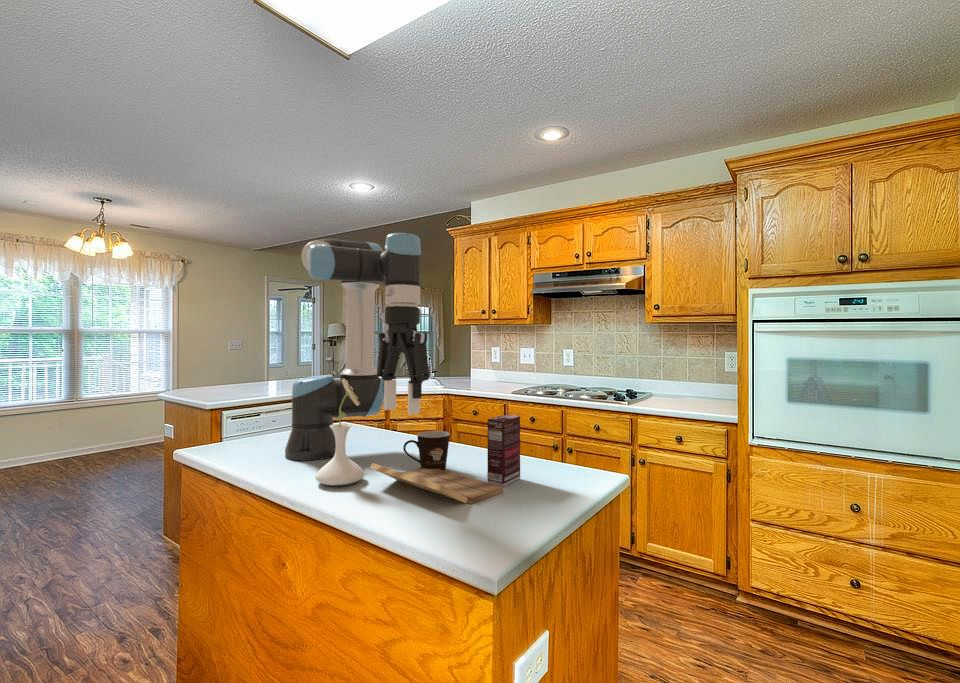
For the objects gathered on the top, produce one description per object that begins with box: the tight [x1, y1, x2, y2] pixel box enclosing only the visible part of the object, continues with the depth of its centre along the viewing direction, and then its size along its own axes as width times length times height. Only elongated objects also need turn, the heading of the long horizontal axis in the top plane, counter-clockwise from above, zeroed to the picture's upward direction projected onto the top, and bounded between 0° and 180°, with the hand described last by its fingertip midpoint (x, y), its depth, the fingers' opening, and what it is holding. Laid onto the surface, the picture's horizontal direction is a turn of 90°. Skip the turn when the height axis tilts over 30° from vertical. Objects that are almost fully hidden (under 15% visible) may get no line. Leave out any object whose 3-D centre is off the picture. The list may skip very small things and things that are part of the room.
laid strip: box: [401, 466, 504, 505], centre depth 112 cm, size 26×10×1 cm, turn 48°
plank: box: [369, 462, 468, 504], centre depth 105 cm, size 24×9×1 cm, turn 48°
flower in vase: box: [314, 378, 365, 486], centre depth 114 cm, size 13×11×25 cm
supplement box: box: [486, 414, 521, 488], centre depth 116 cm, size 9×5×16 cm, turn 146°
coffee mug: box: [403, 430, 451, 471], centre depth 125 cm, size 12×9×10 cm
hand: (401, 411), depth 102 cm, fingers open, 8 cm apart
